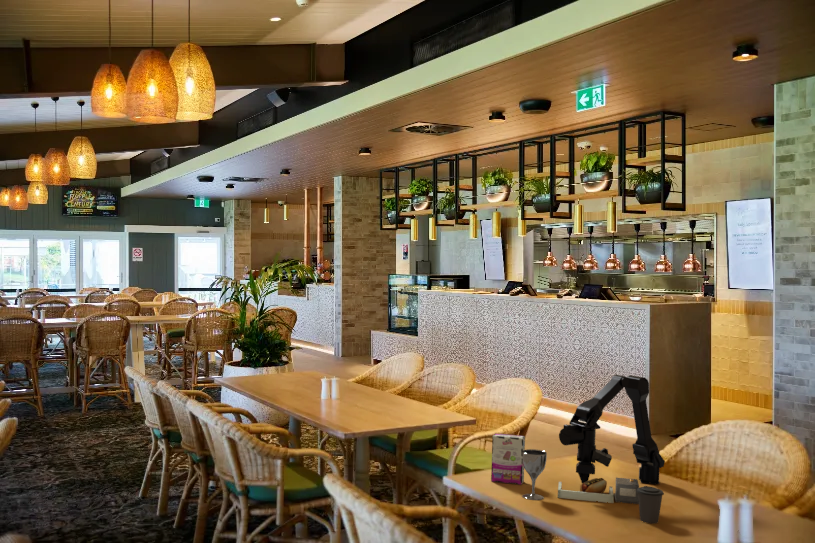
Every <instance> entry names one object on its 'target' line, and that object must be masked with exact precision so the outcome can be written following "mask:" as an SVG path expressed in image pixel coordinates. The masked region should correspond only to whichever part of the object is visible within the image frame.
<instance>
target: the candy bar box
mask: <svg viewBox="0 0 815 543" xmlns="http://www.w3.org/2000/svg"><path fill="white" fill-rule="evenodd" d="M491 439H492V442H491V443H492V444H491V470H490V471H491V476H490V479H491V480H490V481H491V482H494V483H502V484H504V483H505V484H509V485H510V484H511V485H522V484H523V483H524V481H525V469H524V466H523V450H526V448H525V447H526V446H525V445H526V436H525V435H517V434H516V435H515V434H504V433H494V434H493V435H492V438H491Z"/></svg>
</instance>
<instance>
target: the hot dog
mask: <svg viewBox="0 0 815 543" xmlns="http://www.w3.org/2000/svg"><path fill="white" fill-rule="evenodd" d="M607 485H608V481H607V480H605V478H603V477H599V478H598V477H595V478H592V479H588V481H586V482H584V483H582V482H581V484H579V491H580V492H590V493H601V494H603V493H604V492H605V491H606V489H607V487H608V486H607Z"/></svg>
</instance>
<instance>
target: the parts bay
mask: <svg viewBox="0 0 815 543" xmlns="http://www.w3.org/2000/svg"><path fill="white" fill-rule="evenodd" d="M557 485H558V487H557V498H558V499H567V500H568V499H569V500H579V501H587V502H588V501H589V502H596V501H598V503H607V502H608V503H609V504H614V502H615V496H614V488H613V486H609V487H608V493H590V492H580V490H577V491H576V490H570V489H569V490H567V489H562V485H563V482H562V481H558V484H557ZM608 503H607V504H608Z"/></svg>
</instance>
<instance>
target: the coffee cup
mask: <svg viewBox="0 0 815 543" xmlns="http://www.w3.org/2000/svg"><path fill="white" fill-rule="evenodd" d="M637 492H638V499H639V504H638V510H639V512H638V513H639V521H641V522H642V521H643V522H642V523H645V522H646V523H645V524H653V525H654V524H659V519H660V518H659V517H660V513H661V506H662V502H663V501H662V499H663V496H664V495H665V493H664V491H663V490H662V489H659V488H658V487H654V486H648V485H644V486H641V487H640V486H639V488H638V489H637Z"/></svg>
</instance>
